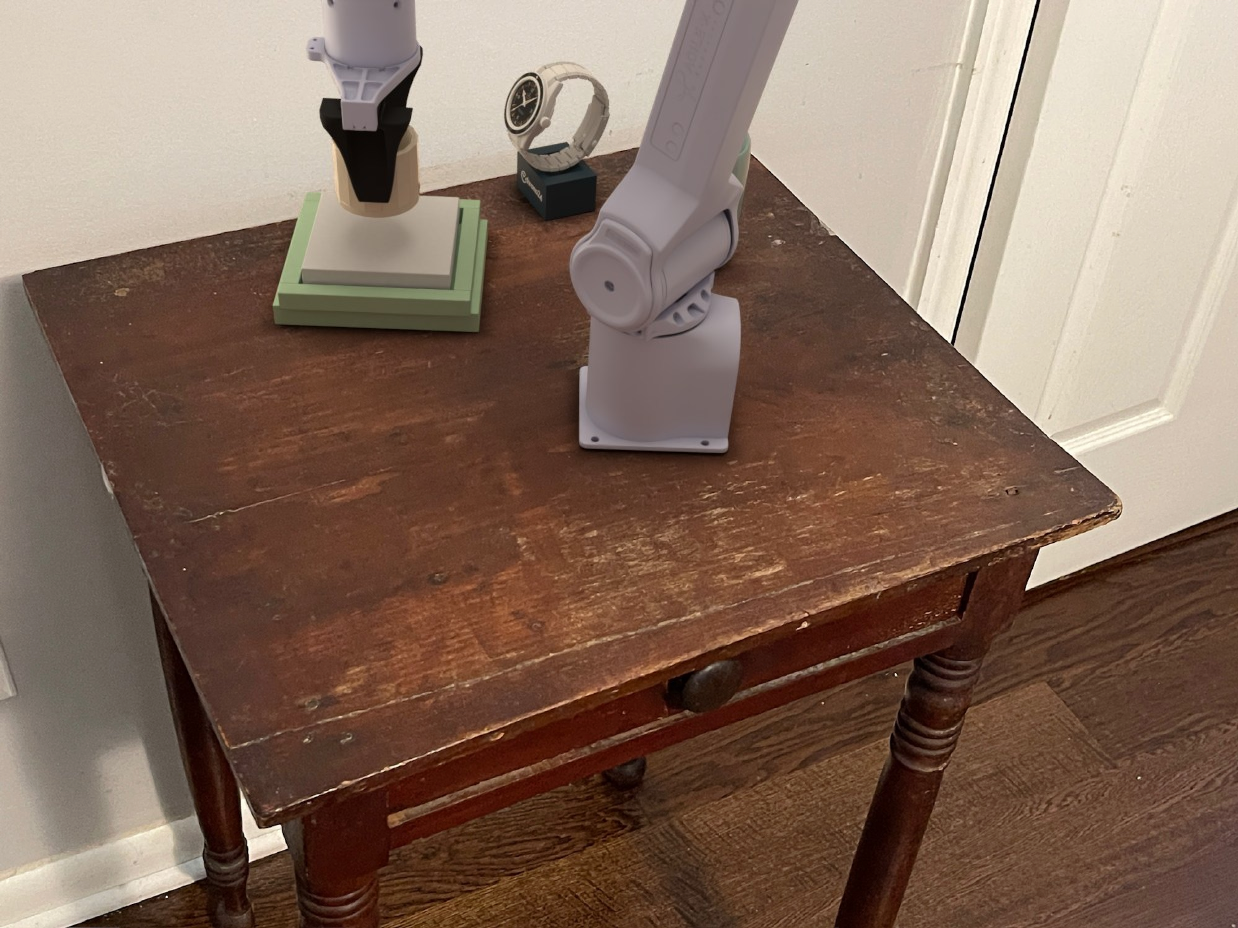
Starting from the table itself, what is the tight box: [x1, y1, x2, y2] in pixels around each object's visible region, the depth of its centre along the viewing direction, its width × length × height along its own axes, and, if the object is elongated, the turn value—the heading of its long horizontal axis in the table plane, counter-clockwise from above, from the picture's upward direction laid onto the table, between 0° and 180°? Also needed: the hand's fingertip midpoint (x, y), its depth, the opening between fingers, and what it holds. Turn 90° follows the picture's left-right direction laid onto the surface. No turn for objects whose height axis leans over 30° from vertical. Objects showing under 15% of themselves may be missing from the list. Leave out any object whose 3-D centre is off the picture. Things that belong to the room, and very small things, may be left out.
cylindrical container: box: [330, 124, 421, 218], centre depth 91 cm, size 6×6×4 cm
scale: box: [272, 191, 489, 333], centre depth 97 cm, size 14×13×3 cm
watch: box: [503, 61, 611, 222], centre depth 104 cm, size 6×8×11 cm
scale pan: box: [301, 190, 461, 290], centre depth 96 cm, size 10×10×2 cm
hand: (379, 175), depth 92 cm, fingers closed on cylindrical container, 5 cm apart
